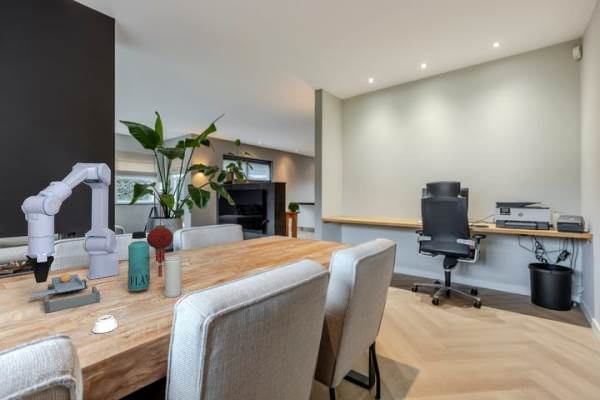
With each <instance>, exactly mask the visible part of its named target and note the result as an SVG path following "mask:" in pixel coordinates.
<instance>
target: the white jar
mask: <svg viewBox="0 0 600 400" xmlns="http://www.w3.org/2000/svg"><path fill="white" fill-rule="evenodd" d="M118 327H119V323H118V321H117V320H116V318H115V317H114V315H112V314H106V315H102V316H99V317H98V318H97V320H96V321H95V324H94V325H93V327H92V329H91V330H92V333H93V334H94V333H95V334H105V333H110V332H112V331H113V330H116V329H117V328H118Z"/></svg>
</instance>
